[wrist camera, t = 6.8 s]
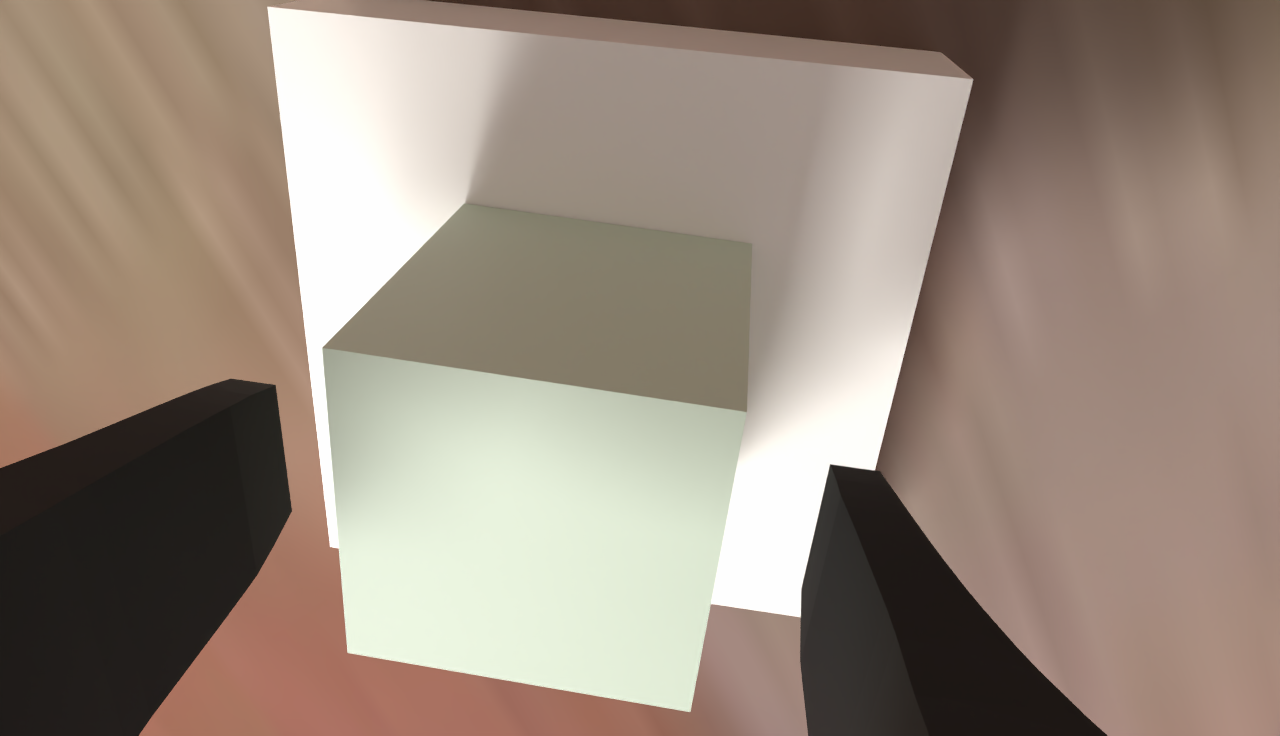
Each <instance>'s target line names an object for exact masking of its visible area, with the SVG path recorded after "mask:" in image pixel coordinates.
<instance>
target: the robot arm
mask: <svg viewBox="0 0 1280 736" xmlns="http://www.w3.org/2000/svg"><path fill="white" fill-rule="evenodd" d="M291 512H292V509H291V501H290V493H289V485H288V478H287V470H286V462H285V455H284V447H283V439H282V432H281V424H280V416H279V408H278V401H277V393H276V385H271V384H264V383H257V382H250V381H243V380H236V379H229V380H225V381H222V382H219V383H216V384H212V385H210V386H207V387H204V388H201V389H199V390H196V391H193V392H191V393H188V394H185V395H183V396H180V397H178V398H175V399H173V400H170V401H168V402H165V403H163V404H161V405H158V406H156V407H153V408H151V409H148V410H146V411H144V412H141V413H139V414H136V415H134V416H132V417H129V418H127V419H124V420H122V421H119V422H117V423H115V424H112V425H110V426H107V427H105V428H102V429H100V430H98V431H95V432H93V433H90V434H88V435H85V436H83V437H81V438H78V439H76V440H73V441H71V442H68V443H66V444H63V445H61V446H58V447H55V448H53V449H50V450H47V451H45V452H42V453H40V454H37V455H34V456H32V457H29V458H26V459H24V460H21V461H18V462H16V463H13V464H10V465H8V466H5V467H3V468H0V736H139V734H140V733H141V731H142V730H143V728H144V727H145V725H146V724H147V723H148V721H149V720H150V718H151V717H152V715H153V714H154V713H155V711H156V710H157V709H158V707H159V706H160V705H161V704H162V702H163V701H164V700H165V698H166V697H167V696H168V694H169V693H170V692H171V690H172V689H173V688H174V686H175V685H176V684H177V682H178V681H179V680H180V678H181V677H182V676H183V674H184V673H185V672H186V670H187V669H188V668H189V666H190V665H191V664H192V662H193V661H194V660H195V658H196V657H197V656H198V654H199V653H200V652H201V650H202V649H203V648H204V646H205V645H206V644H207V642H208V641H209V640H210V638H211V637H212V636H213V634H214V633H215V632H216V630H217V629H218V628H219V626H220V625H221V624H222V622H223V621H224V620H225V618H226V617H227V616H228V614H229V613H230V612H231V610H232V609H233V607H234V606H235V605H236V603H237V602H238V601H239V599H240V598H241V597H242V595H243V594H244V593H245V591H246V590H247V588H248V587H249V586H250V584H251V583H252V581H253V580H254V579H255V577H256V576H257V574H258V572H259V571H260V569H261V567H262V565H263V564H264V562H265V560H266V558H267V557H268V555H269V553H270V551H271V550H272V548H273V546H274V544H275V542H276V540H277V539H278V537H279V535H280V533H281V531H282V529H283V527H284V525H285V523H286V521H287V519H288V517H289V515H290V514H291ZM800 662H801V672H802V682H803V691H804V700H805V709H806V719H807V728H808V736H1107V735H1106V734H1105V733H1104V732H1103V731H1102V730H1101V729H1100V728H1098V727H1097V726H1096V725H1095V724H1094V723H1093V722H1092V721H1091V720H1090V719H1088V718H1087V717H1086V716H1085V715H1084V714H1083V713H1082V712H1081V711H1080V710H1079V709H1078V708H1077V707H1076V706H1075V705H1074V704H1073V703H1072V702H1071V701H1070V700H1069V699H1068V698H1067V697H1066V696H1065V695H1064V694H1063V693H1062V692H1061V691H1060V690H1058V689H1057V688H1056V687H1055V686H1054V685H1053V684H1052V683H1051V682H1050V681H1049V680H1048V679H1047V678H1046V677H1045V676H1044V675H1043V674H1042V673H1041V672H1040V671H1039V670H1038V669H1037V668H1036V667H1035V666H1034V665H1033V664H1032V663H1031V662H1030V661H1029V660H1028V658H1027V657H1026V656H1025V655H1024V654H1023V653H1022V652H1021V651H1020V650H1019V649H1018V648H1017V647H1016V646H1015V645H1014V643H1013V642H1012V641H1011V640H1010V639H1009V638H1008V637H1007V636H1006V634H1005V633H1004V632H1003V631H1002V630H1001V629H1000V628H999V627H998V625H997V624H996V623H995V622H994V621H993V620H992V619H991V618H990V616H989V615H988V614H987V613H986V612H985V611H984V610H983V608H982V607H981V606H980V605H979V604H978V602H977V601H976V600H975V599H974V598H973V596H972V595H971V594H970V593H969V592H968V590H967V589H966V588H965V587H964V585H963V584H962V583H961V582H960V580H959V579H958V578H957V576H956V575H955V574H954V573H953V571H952V570H951V569H950V567H949V566H948V565H947V564H946V562H945V561H944V560H943V559H942V557H941V556H940V554H939V553H938V552H937V550H936V549H935V548H934V546H933V545H932V544H931V542H930V541H929V540H928V538H927V537H926V535H925V534H924V533H923V531H922V530H921V529H920V527H919V526H918V524H917V523H916V522H915V520H914V519H913V517H912V516H911V515H910V513H909V512H908V510H907V509H906V507H905V506H904V505H903V503H902V502H901V500H900V499H899V498H898V496H897V495H896V493H895V492H894V490H893V489H892V488H891V486H890V485H889V484H888V482H887V481H886V479H885V478H884V477H883V475H882V474H881V473H880V471H875V470H867V469H860V468H853V467H846V466H839V465H832V464H830V467H829V471H828V475H827V480H826V484H825V488H824V493H823V497H822V501H821V506H820V510H819V514H818V519H817V523H816V527H815V532H814V536H813V540H812V545H811V549H810V553H809V558H808V562H807V566H806V571H805V575H804V579H803V584H802V588H801V644H800Z"/></svg>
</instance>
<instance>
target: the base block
mask: <svg viewBox="0 0 1280 736" xmlns="http://www.w3.org/2000/svg"><path fill="white" fill-rule="evenodd" d="M268 15H269V23H270V32H271V41H272V49H273V58H274V66H275V75H276V84H277V92H278V101H279V109H280V118H281V127H282V135H283V144H284V152H285V161H286V170H287V178H288V187H289V195H290V204H291V213H292V221H293V230H294V238H295V247H296V256H297V264H298V273H299V282H300V290H301V299H302V307H303V316H304V325H305V333H306V342H307V350H308V359H309V368H310V376H311V385H312V393H313V402H314V411H315V419H316V428H317V436H318V445H319V454H320V462H321V471H322V479H323V488H324V497H325V505H326V514H327V522H328V531H329V540H330V547H335V548H339V544H338V532H337V520H336V509H335V497H334V485H333V473H332V461H331V449H330V438H329V426H328V414H327V402H326V390H325V378H324V366H323V355H322V347H323V346H324V345H325V344H326V343H327V342H328V341H329V340H330V339H331V338H332V337H333V336H334V335H335V334H336V333H337V332H338V331H339V330H340V329H341V328H342V327H343V326H344V325H345V324H346V323H347V322H348V321H349V320H350V319H351V318H352V317H353V316H354V315H355V314H356V313H357V312H358V311H359V310H360V309H361V308H362V307H363V306H364V305H365V304H366V303H367V302H368V300H369V299H370V298H371V297H372V296H373V295H374V294H375V293H376V292H377V291H378V290H379V289H380V288H381V287H382V286H383V285H384V284H385V283H386V282H387V281H388V280H389V279H390V278H391V277H392V276H393V275H394V274H395V273H396V272H397V271H398V270H399V269H400V268H401V267H402V266H403V265H404V264H405V263H406V262H407V261H408V260H409V259H410V258H411V257H412V256H413V255H414V254H415V253H416V252H417V251H418V250H419V249H420V248H421V247H422V246H423V245H424V244H425V243H426V242H427V241H428V240H429V239H430V238H431V237H432V236H433V235H434V234H435V233H436V232H437V231H438V230H439V228H440V227H441V226H442V225H443V224H444V223H445V222H446V221H447V220H448V219H449V218H450V217H451V216H452V215H453V214H454V213H455V212H456V211H457V210H458V209H459V208H460V207H461V206H462V205H463V204H464V203H465V204H472V205H479V206H486V207H493V208H500V209H508V210H515V211H522V212H529V213H536V214H543V215H551V216H558V217H565V218H572V219H579V220H586V221H593V222H601V223H608V224H615V225H622V226H629V227H636V228H643V229H651V230H658V231H665V232H672V233H679V234H686V235H694V236H701V237H708V238H715V239H722V240H729V241H736V242H744V243H751V244H752V268H751V299H750V331H749V363H748V394H747V414H746V420H745V425H744V430H743V436H742V441H741V446H740V451H739V457H738V462H737V467H736V473H735V478H734V483H733V489H732V494H731V499H730V504H729V510H728V515H727V520H726V526H725V531H724V536H723V541H722V547H721V552H720V557H719V563H718V568H717V573H716V579H715V584H714V589H713V594H712V600H711V604H716V605H723V606H730V607H736V608H743V609H750V610H756V611H763V612H770V613H776V614H783V615H790V616H797V617H801V588H802V584H803V579H804V575H805V571H806V566H807V562H808V558H809V553H810V549H811V545H812V540H813V536H814V532H815V527H816V523H817V519H818V514H819V510H820V506H821V501H822V497H823V493H824V488H825V484H826V480H827V475H828V471H829V467H830V464H832V465H839V466H846V467H853V468H860V469H867V470H875V468H876V464H877V460H878V456H879V452H880V448H881V444H882V440H883V436H884V432H885V428H886V424H887V420H888V416H889V412H890V408H891V404H892V400H893V396H894V392H895V388H896V384H897V380H898V376H899V372H900V368H901V364H902V360H903V357H904V353H905V349H906V345H907V341H908V337H909V333H910V329H911V325H912V321H913V317H914V313H915V309H916V305H917V301H918V297H919V293H920V289H921V285H922V281H923V277H924V273H925V269H926V265H927V261H928V257H929V253H930V249H931V245H932V242H933V238H934V234H935V230H936V226H937V222H938V218H939V214H940V210H941V206H942V202H943V198H944V194H945V190H946V186H947V182H948V178H949V174H950V170H951V166H952V162H953V158H954V154H955V150H956V146H957V142H958V138H959V134H960V130H961V127H962V123H963V119H964V115H965V111H966V107H967V103H968V99H969V95H970V91H971V87H972V83H973V78H971V77H970V76H969V75H968V74H967V73H965V72H964V71H963V70H962V69H961V68H959V67H958V66H957V65H956V64H955V63H953V62H952V61H951V60H950V59H949V58H947V57H946V56H945V55H944V54H943V53H941V52H935V51H925V50H915V49H905V48H895V47H885V46H875V45H865V44H855V43H845V42H835V41H825V40H815V39H805V38H795V37H785V36H776V35H766V34H756V33H746V32H736V31H726V30H716V29H706V28H696V27H686V26H676V25H666V24H656V23H646V22H636V21H626V20H616V19H606V18H596V17H586V16H576V15H566V14H557V13H547V12H537V11H527V10H517V9H507V8H497V7H487V6H477V5H467V4H457V3H447V2H437V1H427V0H298V1H293V2H289V3H284V4H279V5H274V6H269V7H268Z"/></svg>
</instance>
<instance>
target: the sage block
mask: <svg viewBox="0 0 1280 736" xmlns="http://www.w3.org/2000/svg"><path fill="white" fill-rule="evenodd" d="M751 268H752V244H751V243H744V242H736V241H729V240H722V239H715V238H708V237H701V236H694V235H686V234H679V233H672V232H665V231H658V230H651V229H643V228H636V227H629V226H622V225H615V224H608V223H601V222H593V221H586V220H579V219H572V218H565V217H558V216H551V215H543V214H536V213H529V212H522V211H515V210H508V209H500V208H493V207H486V206H479V205H472V204H465V203H464V204H463V205H462V206H461V207H460V208H459V209H458V210H457V211H456V212H455V213H454V214H453V215H452V216H451V217H450V218H449V219H448V220H447V221H446V222H445V223H444V224H443V225H442V226H441V227H440V228H439V230H438V231H437V232H436V233H435V234H434V235H433V236H432V237H431V238H430V239H429V240H428V241H427V242H426V243H425V244H424V245H423V246H422V247H421V248H420V249H419V250H418V251H417V252H416V253H415V254H414V255H413V256H412V257H411V258H410V259H409V260H408V261H407V262H406V263H405V264H404V265H403V266H402V267H401V268H400V269H399V270H398V271H397V272H396V273H395V274H394V275H393V276H392V277H391V278H390V279H389V280H388V281H387V282H386V283H385V284H384V285H383V286H382V287H381V288H380V289H379V290H378V291H377V292H376V293H375V294H374V295H373V296H372V297H371V298H370V299H369V300H368V302H367V303H366V304H365V305H364V306H363V307H362V308H361V309H360V310H359V311H358V312H357V313H356V314H355V315H354V316H353V317H352V318H351V319H350V320H349V321H348V322H347V323H346V324H345V325H344V326H343V327H342V328H341V329H340V330H339V331H338V332H337V333H336V334H335V335H334V336H333V337H332V338H331V339H330V340H329V341H328V342H327V343H326V344H325V345H324V346H323V347H322V355H323V366H324V378H325V390H326V402H327V414H328V426H329V438H330V449H331V461H332V473H333V485H334V497H335V509H336V520H337V532H338V544H339V556H340V568H341V580H342V591H343V603H344V615H345V627H346V639H347V651H348V653H352V654H358V655H364V656H369V657H375V658H381V659H387V660H392V661H398V662H404V663H410V664H416V665H421V666H427V667H433V668H439V669H444V670H450V671H456V672H462V673H468V674H473V675H479V676H485V677H491V678H496V679H502V680H508V681H514V682H520V683H525V684H531V685H537V686H543V687H548V688H554V689H560V690H566V691H572V692H577V693H583V694H589V695H595V696H601V697H606V698H612V699H618V700H624V701H629V702H635V703H641V704H647V705H653V706H658V707H664V708H670V709H676V710H681V711H687V712H690V711H691V706H692V700H693V695H694V690H695V684H696V679H697V674H698V669H699V663H700V658H701V653H702V647H703V642H704V637H705V631H706V626H707V621H708V616H709V610H710V605H711V600H712V594H713V589H714V584H715V579H716V573H717V568H718V563H719V557H720V552H721V547H722V541H723V536H724V531H725V526H726V520H727V515H728V510H729V504H730V499H731V494H732V489H733V483H734V478H735V473H736V467H737V462H738V457H739V451H740V446H741V441H742V436H743V430H744V425H745V420H746V414H747V394H748V363H749V331H750V299H751Z"/></svg>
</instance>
